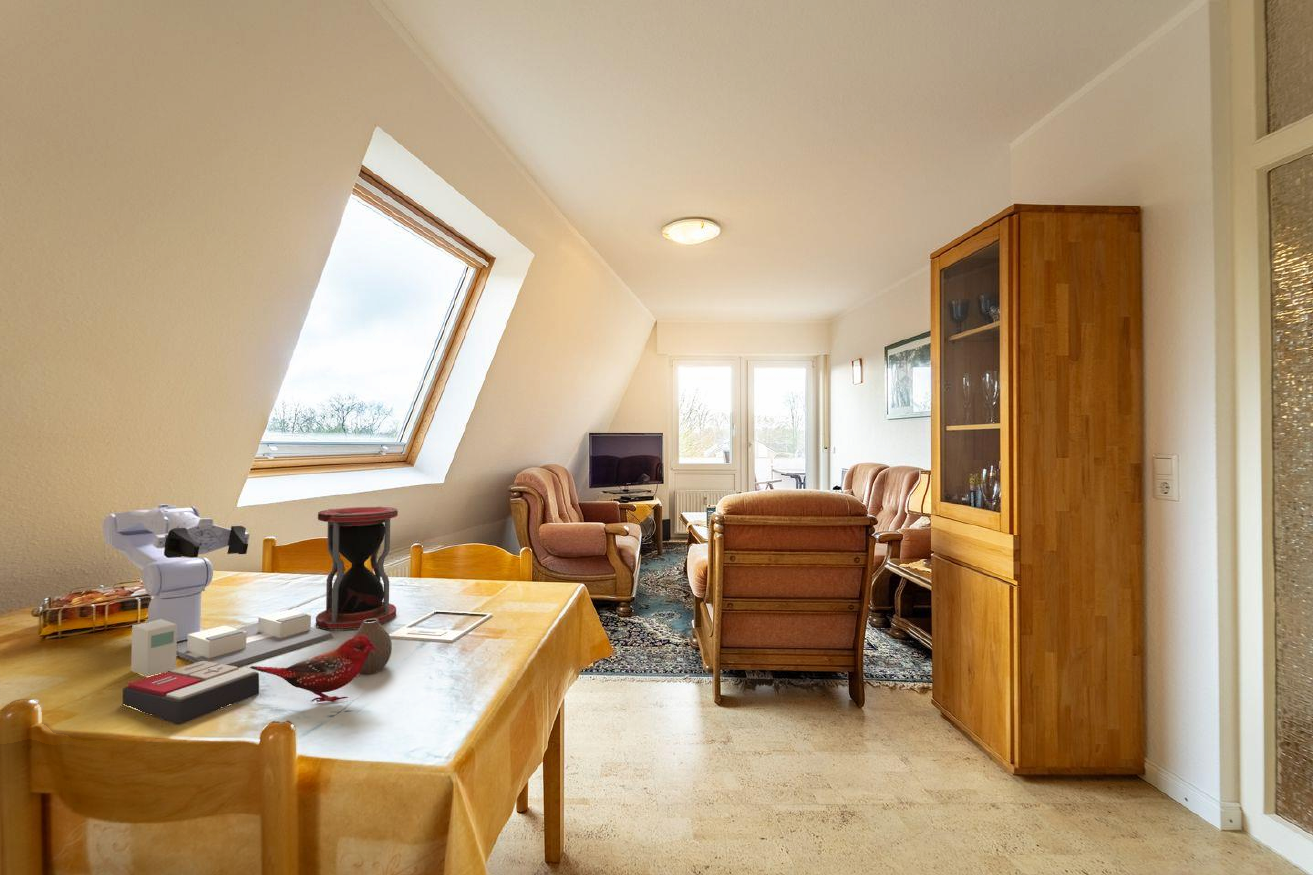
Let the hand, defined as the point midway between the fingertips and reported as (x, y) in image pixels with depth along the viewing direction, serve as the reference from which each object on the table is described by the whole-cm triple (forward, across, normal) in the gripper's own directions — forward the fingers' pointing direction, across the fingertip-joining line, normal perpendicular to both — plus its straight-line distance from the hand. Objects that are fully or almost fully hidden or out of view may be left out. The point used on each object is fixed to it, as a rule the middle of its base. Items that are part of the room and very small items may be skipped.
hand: (221, 550), depth 102 cm
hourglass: (+2, +28, +18) cm, 33 cm away
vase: (+32, +13, +14) cm, 37 cm away
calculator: (+20, -8, +18) cm, 28 cm away
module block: (+1, -7, +21) cm, 22 cm away
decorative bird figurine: (+37, +1, +14) cm, 40 cm away
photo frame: (+22, +36, +14) cm, 44 cm away
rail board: (+1, +8, +20) cm, 21 cm away
